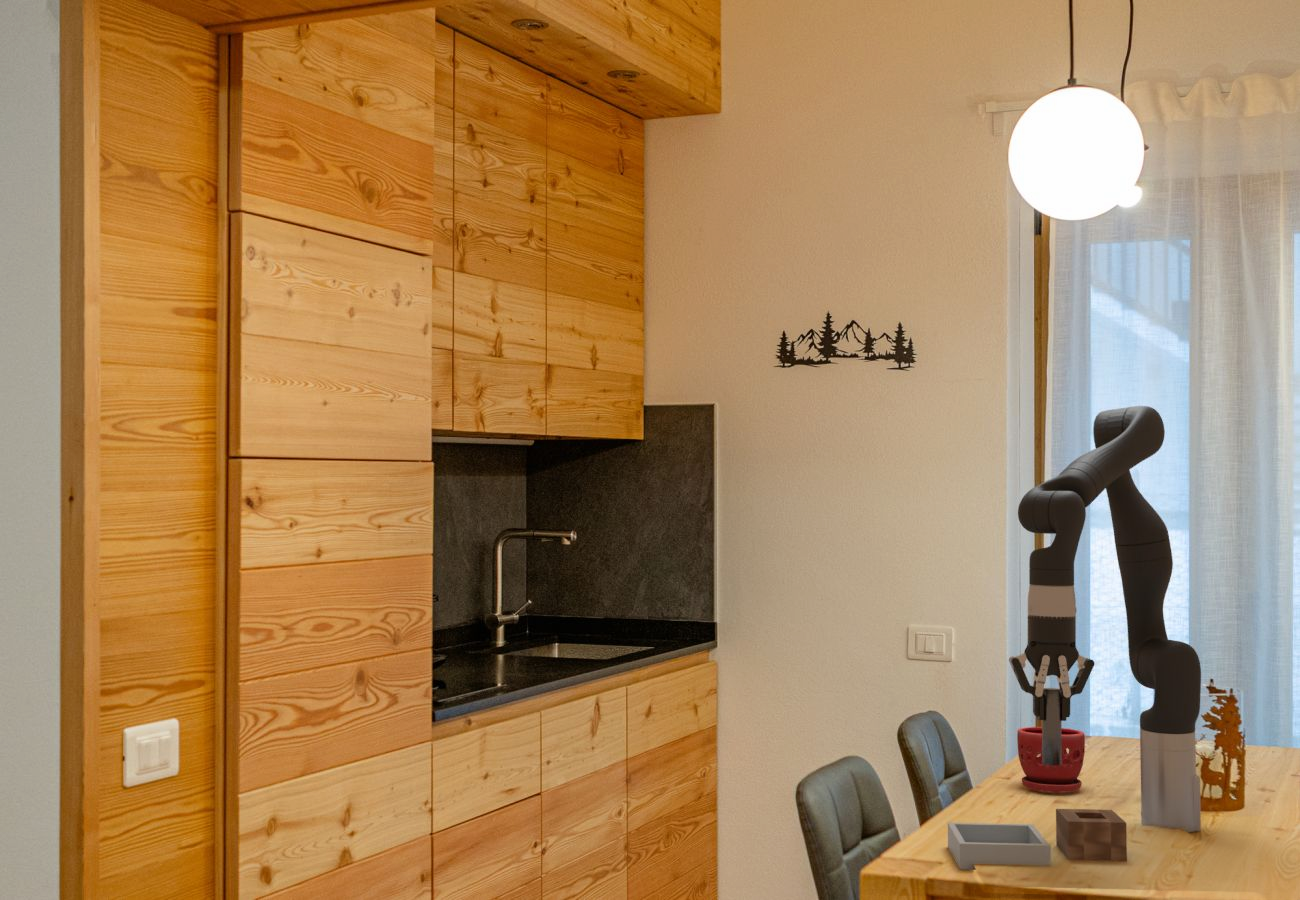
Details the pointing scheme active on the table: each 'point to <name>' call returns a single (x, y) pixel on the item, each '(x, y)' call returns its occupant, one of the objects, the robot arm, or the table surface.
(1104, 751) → the table surface
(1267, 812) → the table surface
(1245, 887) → the table surface
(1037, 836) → the tray
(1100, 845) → the pin block
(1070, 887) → the table surface
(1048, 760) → the pin
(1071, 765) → the plant pot
